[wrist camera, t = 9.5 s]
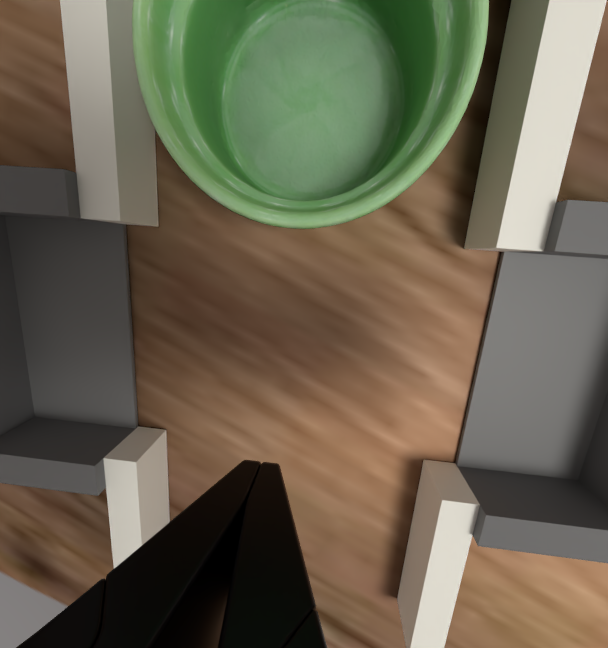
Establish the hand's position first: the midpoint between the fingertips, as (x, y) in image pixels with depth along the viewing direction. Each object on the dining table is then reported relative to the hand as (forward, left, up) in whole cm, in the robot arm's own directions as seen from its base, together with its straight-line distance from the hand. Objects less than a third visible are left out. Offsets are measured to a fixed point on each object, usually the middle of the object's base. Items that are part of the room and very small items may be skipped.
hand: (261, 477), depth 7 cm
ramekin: (+10, 0, -8) cm, 13 cm away
